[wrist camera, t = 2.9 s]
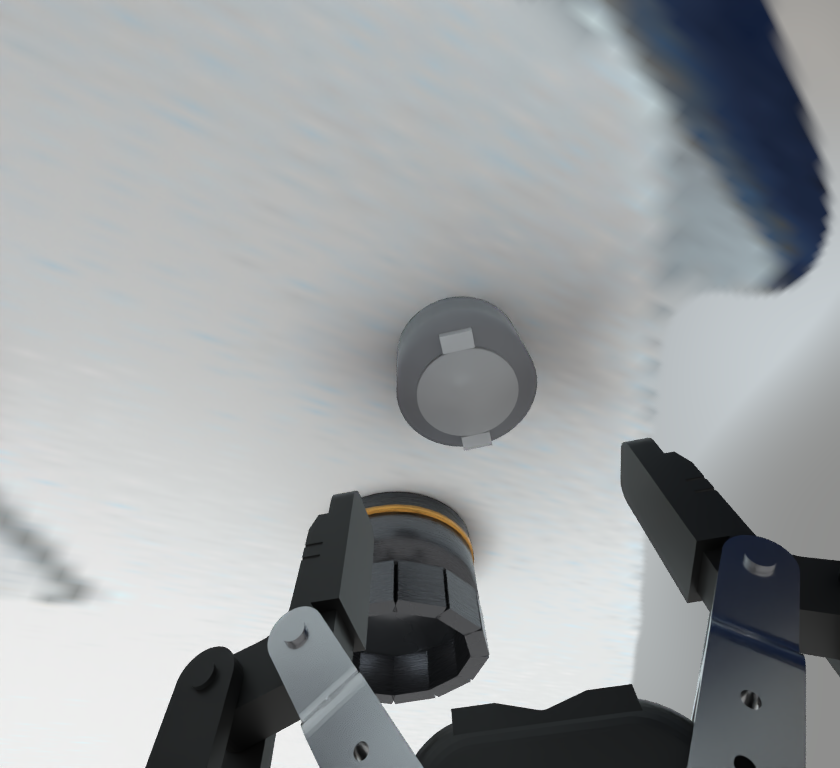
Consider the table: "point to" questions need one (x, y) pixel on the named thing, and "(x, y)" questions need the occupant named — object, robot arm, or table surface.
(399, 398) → the lens cap
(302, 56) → the table surface
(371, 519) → the lens barrel
